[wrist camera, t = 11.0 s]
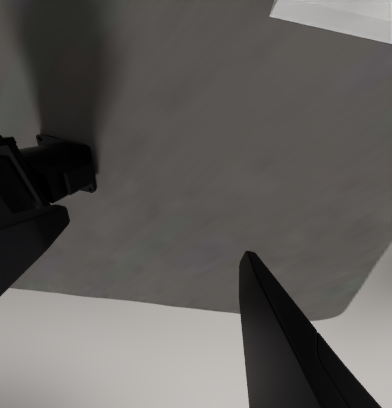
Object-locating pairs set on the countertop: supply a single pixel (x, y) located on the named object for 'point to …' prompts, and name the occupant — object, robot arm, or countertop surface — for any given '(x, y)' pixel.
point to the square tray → (340, 16)
